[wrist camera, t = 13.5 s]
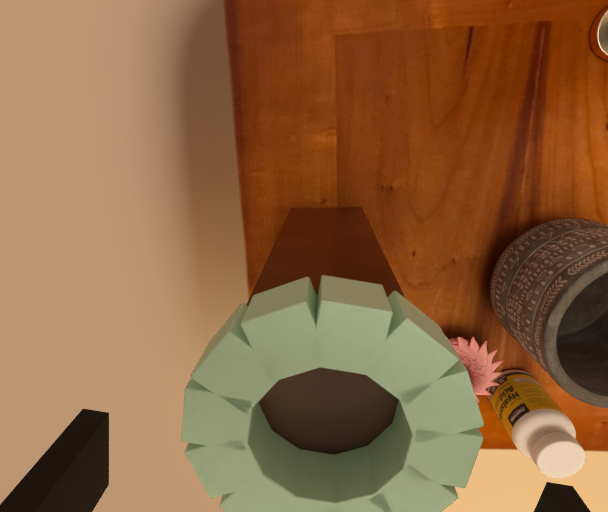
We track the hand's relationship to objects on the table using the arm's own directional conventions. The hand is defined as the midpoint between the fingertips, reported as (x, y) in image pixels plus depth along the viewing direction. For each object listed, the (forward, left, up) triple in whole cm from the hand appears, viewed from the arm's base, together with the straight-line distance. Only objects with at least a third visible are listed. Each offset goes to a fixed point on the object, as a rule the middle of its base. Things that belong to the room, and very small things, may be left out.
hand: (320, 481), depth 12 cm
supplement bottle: (+26, 0, -29) cm, 39 cm away
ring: (0, 0, -4) cm, 4 cm away
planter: (+18, +11, -29) cm, 36 cm away
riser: (0, 0, -28) cm, 28 cm away
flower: (+18, -1, -29) cm, 34 cm away
